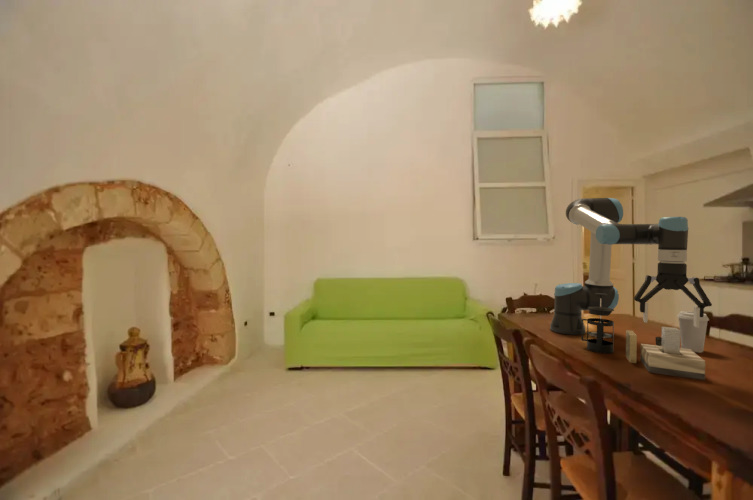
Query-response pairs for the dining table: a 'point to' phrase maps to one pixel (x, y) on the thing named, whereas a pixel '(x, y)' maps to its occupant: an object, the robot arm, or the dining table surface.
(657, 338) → the hand tool
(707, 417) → the dining table surface
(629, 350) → the beige rectangular slab
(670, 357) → the bore block
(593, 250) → the robot arm
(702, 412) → the dining table surface
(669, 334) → the square bit
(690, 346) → the coffee cup
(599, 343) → the french press
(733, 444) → the dining table surface
